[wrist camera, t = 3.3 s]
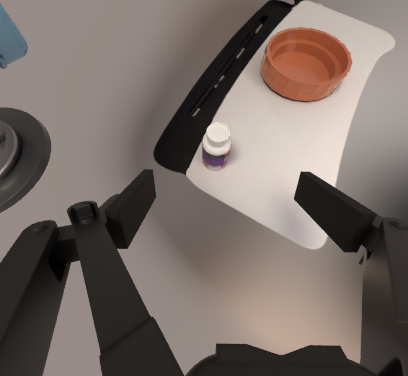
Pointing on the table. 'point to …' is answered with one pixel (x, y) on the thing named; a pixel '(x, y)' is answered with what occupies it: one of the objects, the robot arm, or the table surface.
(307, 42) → the bowl
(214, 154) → the pill bottle
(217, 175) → the table surface
